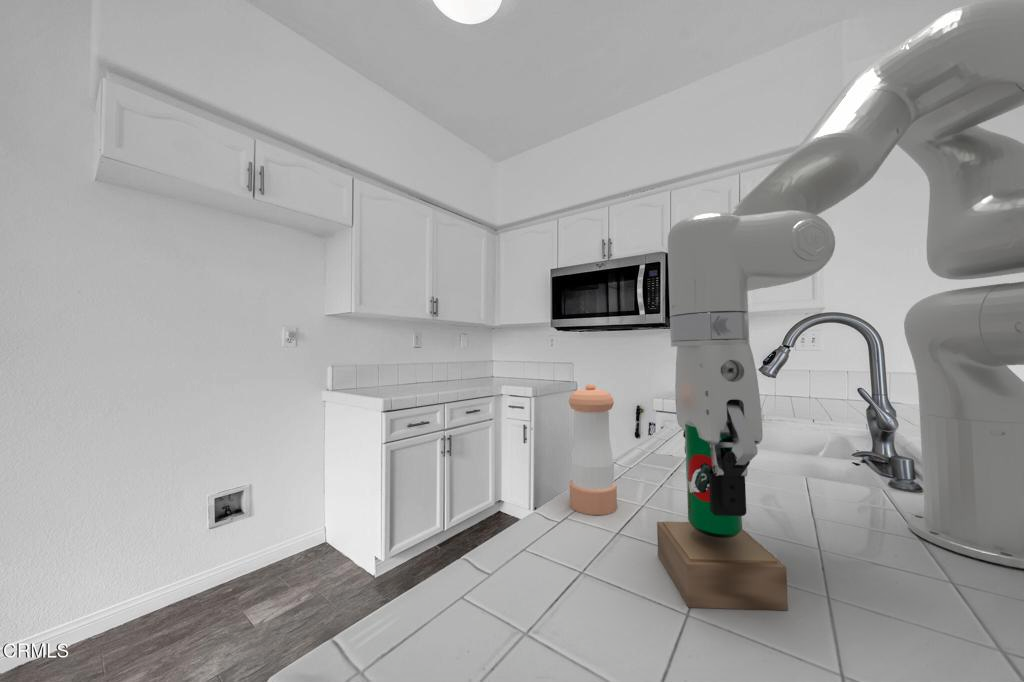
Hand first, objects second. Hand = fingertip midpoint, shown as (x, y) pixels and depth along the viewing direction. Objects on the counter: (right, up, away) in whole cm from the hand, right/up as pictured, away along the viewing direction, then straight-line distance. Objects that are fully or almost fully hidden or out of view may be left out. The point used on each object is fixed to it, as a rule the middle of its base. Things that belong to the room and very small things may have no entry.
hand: (714, 500), depth 40 cm
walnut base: (0, -8, 0) cm, 8 cm away
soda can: (0, -3, 0) cm, 3 cm away
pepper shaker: (-9, -9, +19) cm, 23 cm away
